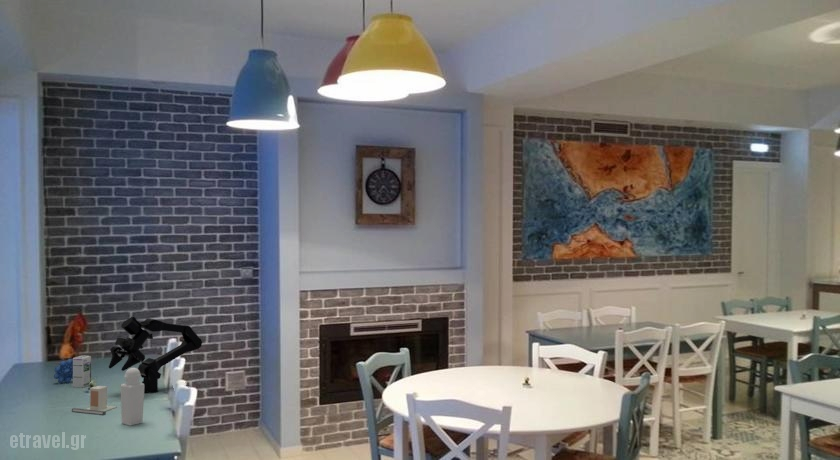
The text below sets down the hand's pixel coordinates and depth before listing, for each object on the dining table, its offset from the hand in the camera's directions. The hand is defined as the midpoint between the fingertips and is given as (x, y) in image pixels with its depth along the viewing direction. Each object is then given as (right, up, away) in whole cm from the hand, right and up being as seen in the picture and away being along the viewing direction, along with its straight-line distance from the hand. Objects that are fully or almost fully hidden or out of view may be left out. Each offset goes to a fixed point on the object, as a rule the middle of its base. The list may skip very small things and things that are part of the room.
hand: (115, 369), depth 293 cm
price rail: (-1, -14, -22) cm, 26 cm away
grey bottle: (+23, -14, -35) cm, 45 cm away
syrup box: (-27, -13, +23) cm, 38 cm away
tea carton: (+1, -13, -17) cm, 21 cm away
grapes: (-38, -13, +30) cm, 50 cm away
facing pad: (+1, -14, -17) cm, 22 cm away
